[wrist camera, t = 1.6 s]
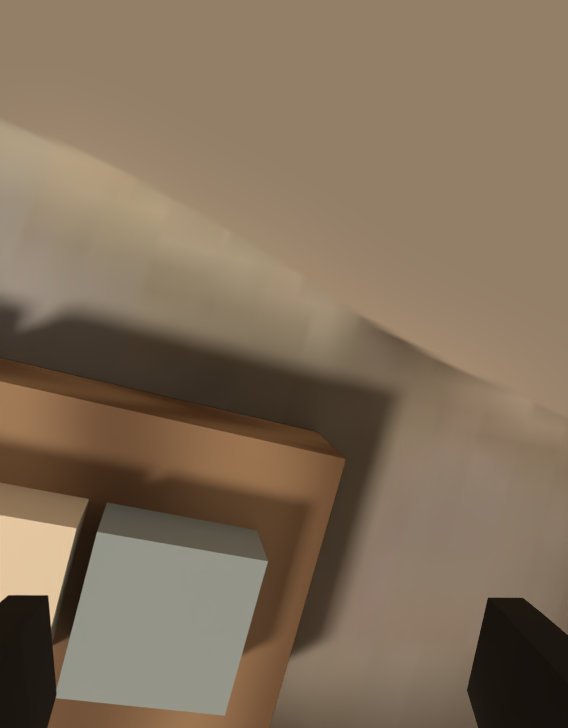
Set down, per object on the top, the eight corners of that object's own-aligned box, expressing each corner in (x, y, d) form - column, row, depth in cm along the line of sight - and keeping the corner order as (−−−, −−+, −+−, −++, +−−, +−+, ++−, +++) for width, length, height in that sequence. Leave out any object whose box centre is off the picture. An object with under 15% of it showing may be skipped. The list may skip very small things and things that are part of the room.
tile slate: (257, 530, 16) (268, 561, 14) (218, 667, 17) (224, 715, 15) (107, 502, 15) (97, 531, 13) (69, 648, 16) (54, 697, 14)
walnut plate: (317, 432, 20) (346, 458, 17) (247, 679, 21) (261, 754, 17) (-26, 351, 17) (-76, 364, 14) (-95, 638, 18) (-157, 716, 15)
